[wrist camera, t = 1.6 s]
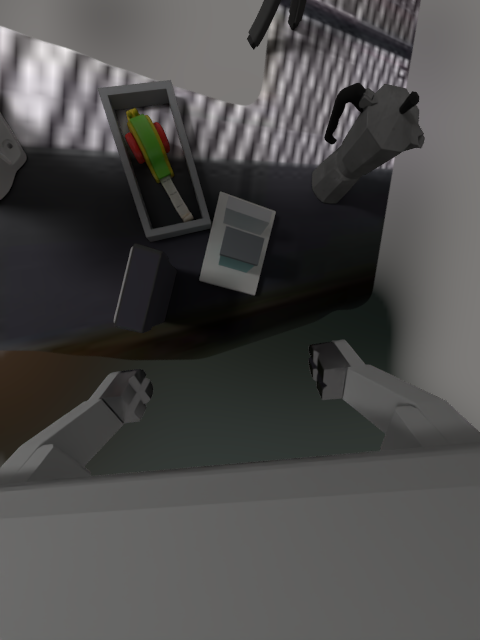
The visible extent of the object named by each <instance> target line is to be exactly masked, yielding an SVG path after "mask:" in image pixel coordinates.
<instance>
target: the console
mask: <svg viewBox="0 0 480 640" xmlns="http://www.w3.org/2000/svg"><path fill="white" fill-rule="evenodd" d="M275 213H276V211H273V210H270V209H268V208H265V207H262V206H259V205H257V204H254V203H251V202H248V201H246V200H243V199H240V198H237V197H235V196H232V195H229V194H226V193H224V192H221V191H220V194H219V198H218V203H217V207H216V211H215V215H214V219H213V224H212V228H211V232H210V236H209V240H208V245H207V249H206V253H205V257H204V261H203V266H202V270H201V274H200V278H199V281H202V282H205V283H209V284H213V285H216V286H220V287H224V288H227V289H231V290H235V291H239V292H242V293H246V294H250V295H255V293H256V289H257V285H258V281H259V277H260V273H261V269H262V265H263V261H264V257H265V253H266V249H267V245H268V241H269V237H270V233H271V229H272V225H273V221H274V217H275ZM226 226H228V227H231V228H234V229H237V230H240V231H243V232H246V233H250V234H253V235H256V236H259V237H262V238H265V239H264V243H263V247H262V251H261V255H260V259H259V263H258V266H254V267H253V268H251V269H250V270H249V271H248V272H247V273H245V272H242V271H239V270H235V269H232V268H228V267H225V266H221V265H218V264H219V260H220V255H219V254H220V250H221V246H222V241H223V237H224V233H225V229H226Z"/></svg>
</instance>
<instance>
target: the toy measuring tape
mask: <svg viewBox="0 0 480 640" xmlns="http://www.w3.org/2000/svg"><path fill="white" fill-rule="evenodd" d="M126 115H127V120H128V122H127V126H128V128H129V131H130V133H127V134H126V135H125V139H126V141H127V143H128V145H129V147H130V149H131V151H132V152H133V154H134V156H135V158H136V160H137V161H138V163H140V164H142V163H144V162H146V164H147V166H148V168H149V170H150V171H151V173H152V175H153V177H154V179H155V181H156V182H157V183H162V185H163V187H164V189H165V190H166V192H167V194H168V195H169V197H170V199H171V202H172V203H173V205H174V207H175V209H176V210H177V212H178V214H179V215H180V217H181V218H182V219H183V222H188V221H191V220H193V219H194V218H193V215H192V214H191V212H189V210H188V208H187V206H186V204H185V203H184V201H183V200H182V198H181V196H180V194H179V193H178V191H177V189H176V187H175V186H174V184H173V182H172V180H171V178H172V177H174V173H173V170H172V168H171V166H170V163H169V160H168V157H167V154H166V153H168V152H169V151H170V146H169V142H168V139H167V137H166V134H165V132H164V130H163V128H162V126H161V125H160V124H159V123H157V122H155V123H153V122H152V121H151V119H150V117H149V116H148V115H144V114H141V115H140V114H139V113H138V110H137V109H136V108H133V109H130V110H127V111H126Z"/></svg>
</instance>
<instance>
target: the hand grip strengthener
mask: <svg viewBox="0 0 480 640" xmlns="http://www.w3.org/2000/svg"><path fill="white" fill-rule="evenodd" d="M280 2H281V0H264V2H263V4H262V6H261V9H260V11H259V13H258V15H257V17H256V19H255V21H254V23H253V25H252V27H251V29H250V30H249V34H250V35H249V36H248V38H247V40H248V42H249V43H250V45H251V47H252V48H253V49H255V47H256V46H257V47H258V45H259V44H260V42H261V41H262V39H263V37H264V35H265V33H266V31H267V30H268V28H269V26H270V24H271V22H272V19H273V17H274V15H275V13H276V11H277V9H278V6H279V4H280ZM305 4H306V0H291V5H290V10H289V13H290V15H289V20H288V23H289V25H290V27H291V29H292V30H293V29H294V28H295V27H297V26H298V24H299V22H300V21H301V20H302V16H303V12H304V9H305Z"/></svg>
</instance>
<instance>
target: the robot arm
mask: <svg viewBox="0 0 480 640" xmlns="http://www.w3.org/2000/svg"><path fill="white" fill-rule="evenodd" d="M11 147H12V148H11ZM26 158H27V157H26V154H25V152H24V150H23V149H22V147H21V145H20V144H19V142H18V140H17V139H16V137H15V135H14V134H13V132H12V130H11V129H10V127H9V125H8V124H7V122H6V121H5V119H4V117H3V116H2V114H1V112H0V200H1V199H2V198H3V197H4V196H5V195H6V194H7V193H8V191H9V190H10V188H11V186H12V183H13V180H14V177H15V174H16V172H17V170H18V169H19V168H20V167H21V166H22V165H23V164H24V163H25V161H26ZM309 354H310V355H311V357H310V358H309V368H310V372H311V375H312V378H313V379H314V380H315V381H317V389H318V391H319V394H320V396H321V398H322V400H328V399H340V398H343V400H345V401H346V402H347V403H348V404H349V405H351V406H352V407H353V408H354V409H356V410H357V411H358V412H359V413H361V414H362V415H363V416H364V417H366V418H367V419H368V420H369V421H370V422H372V423H373V424H374V425H375V426H377V427H378V428H379V429H380V430H381V431H383V432H384V433H385V434H386V435H385V437H384V440H383V443H382V445H381V448H380V450H381V451H372V452H361V453H350V454H338V455H327V456H316V457H305V458H293V459H282V460H270V461H258V462H248V463H236V464H225V465H214V466H201V467H190V468H179V469H168V470H157V471H146V472H133V473H122V474H111V475H101V476H91V472H90V471H89V470H87V469H86V468H85V467H84V466H85V465H86V464H87V463H88V462H89V460H90V459H92V457H93V456H94V455H95V454H96V453H97V452H98V451H99V450H100V449H101V448H102V447H103V446H104V444H106V442H107V441H108V440H109V439H110V438H111V437H112V436H113V435H114V434H115V433H116V432H117V431H118V430H119V429H120V427H121V426H122V425H123V423H129V422H136V421H141V418H142V416H143V414H144V412H145V410H146V403H147V402H148V401H149V400H150V399H151V397H152V394H153V385H152V383H151V381H150V380H149V379H147V378H145V377H146V373H145V372H144V370H141V369H136V370H128V371H121V372H113V373H111V374H109V375H108V376H107V378H105V380H104V381H103V382H102V384H101V385H100V386H99V387H98V389H97V390H96V391H95V392H94V394H93V395H92V396H91V397H90V399H89V400H88V401H84V402H83V403H82V404H80V405H79V406H77V407H76V408H74V409H73V410H72V411H70V412H69V413H67V414H66V415H64V416H63V417H61V418H60V419H59V420H57V421H56V422H54V423H53V424H51V425H50V426H49V427H47V428H46V429H45V430H43V431H41V432H40V433H39V434H37V435H36V436H34V437H33V438H31V439H30V440H29V441H27V442H26V443H24V444H23V445H21V446H20V447H19V448H18V449H17V450H16V452H15V453H14V454H13V455H12V456H11V457H10V458H9V459H8V460H7V461H6V462H5V464H3V466H2V467H1V468H0V640H480V432H479V431H478V430H477V429H475V428H474V427H473V426H472V425H471V424H470V423H469V422H468V421H467V420H466V419H465V418H464V417H463V416H462V415H460V414H459V413H458V412H457V411H456V410H455V409H454V408H453V407H452V406H451V405H450V404H449V403H448V402H447V401H445V400H443V399H441V398H439V397H437V396H435V395H433V394H430V393H428V392H426V391H424V390H422V389H420V388H418V387H416V386H414V385H411V384H409V383H407V382H405V381H403V380H401V379H399V378H397V377H395V376H393V375H390V374H388V373H386V372H384V371H382V370H380V369H378V368H376V367H374V366H371V365H365V363H364V362H363V361H362V360H361V359H360V357H359V356H358V355H357V354H356V352H355V351H354V350H353V349H352V348H351V346H350V345H349V344H348V343H347V342H346V340H338V341H332V342H326V343H319V344H312V345H309Z"/></svg>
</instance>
